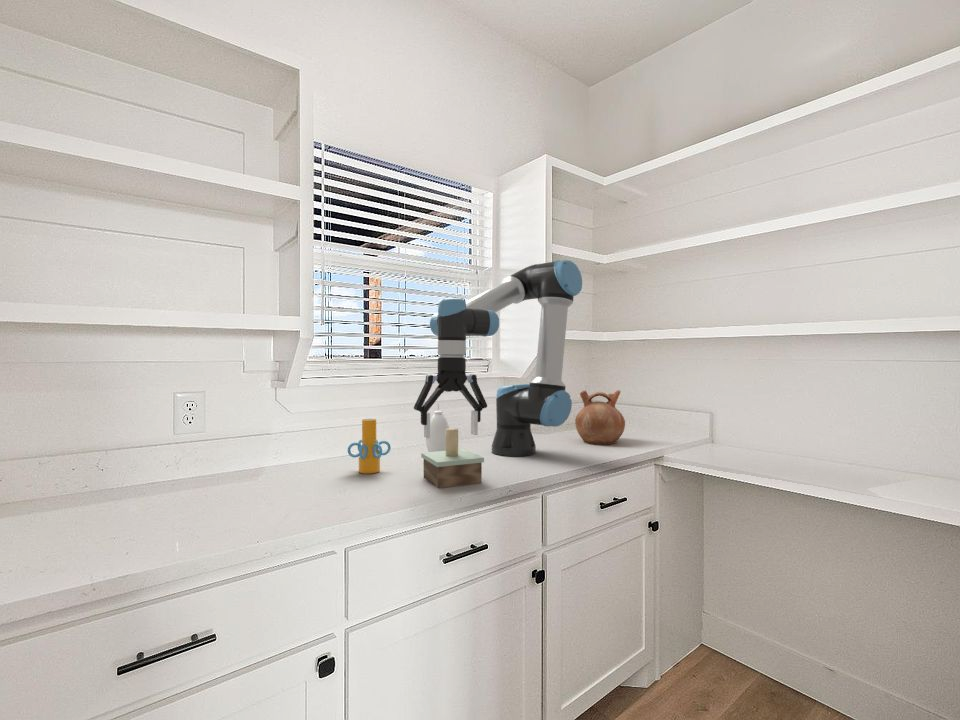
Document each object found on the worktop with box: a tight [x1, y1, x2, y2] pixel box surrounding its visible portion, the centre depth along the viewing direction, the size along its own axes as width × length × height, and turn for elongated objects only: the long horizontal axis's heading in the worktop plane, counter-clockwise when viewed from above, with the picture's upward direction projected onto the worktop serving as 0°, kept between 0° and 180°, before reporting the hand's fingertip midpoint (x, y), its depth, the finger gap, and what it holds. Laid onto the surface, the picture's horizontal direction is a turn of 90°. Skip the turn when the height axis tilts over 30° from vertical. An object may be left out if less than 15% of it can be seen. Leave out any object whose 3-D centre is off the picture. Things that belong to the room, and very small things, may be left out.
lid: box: [420, 427, 485, 467], centre depth 135 cm, size 13×13×8 cm
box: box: [423, 459, 483, 489], centre depth 135 cm, size 12×12×6 cm
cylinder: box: [347, 418, 392, 475], centre depth 145 cm, size 12×10×15 cm
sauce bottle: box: [425, 402, 450, 452], centre depth 162 cm, size 8×8×18 cm
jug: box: [574, 389, 626, 446], centre depth 192 cm, size 18×18×20 cm
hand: (451, 435), depth 135 cm, fingers open, 13 cm apart
